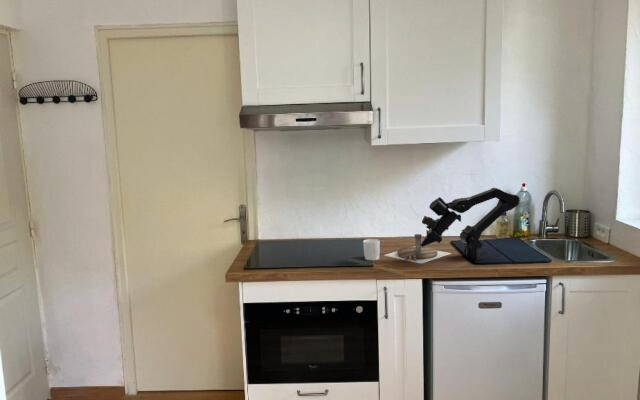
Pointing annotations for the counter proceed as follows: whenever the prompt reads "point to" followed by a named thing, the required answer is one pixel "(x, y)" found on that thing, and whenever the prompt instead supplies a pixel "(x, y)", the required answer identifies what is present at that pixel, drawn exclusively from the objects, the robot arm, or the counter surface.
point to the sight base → (395, 255)
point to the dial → (417, 250)
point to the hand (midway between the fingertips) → (421, 245)
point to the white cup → (371, 249)
